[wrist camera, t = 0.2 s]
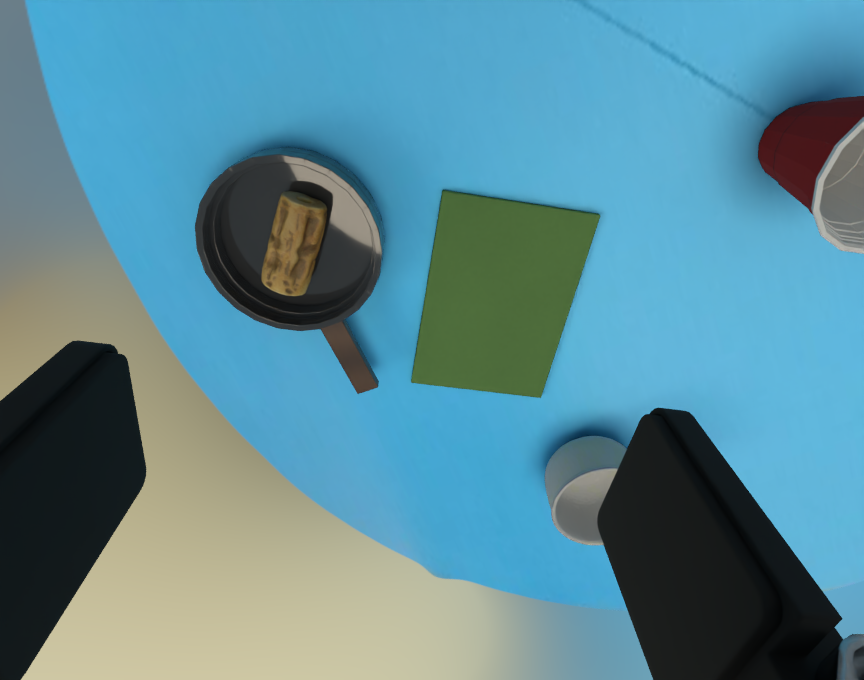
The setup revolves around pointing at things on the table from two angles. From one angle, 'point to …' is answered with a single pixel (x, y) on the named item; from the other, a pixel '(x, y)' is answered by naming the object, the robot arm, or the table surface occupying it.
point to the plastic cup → (822, 164)
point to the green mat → (499, 292)
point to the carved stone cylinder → (294, 243)
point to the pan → (252, 225)
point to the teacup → (581, 485)
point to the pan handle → (350, 356)
